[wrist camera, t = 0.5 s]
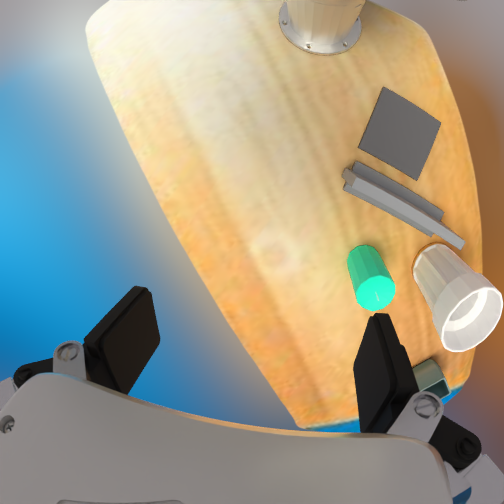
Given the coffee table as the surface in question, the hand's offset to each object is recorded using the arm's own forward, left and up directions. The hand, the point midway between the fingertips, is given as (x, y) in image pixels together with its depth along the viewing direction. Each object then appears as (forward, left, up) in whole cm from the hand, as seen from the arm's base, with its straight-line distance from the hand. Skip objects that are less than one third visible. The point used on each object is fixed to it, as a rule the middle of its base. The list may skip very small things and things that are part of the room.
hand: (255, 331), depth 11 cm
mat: (-15, +13, -34) cm, 39 cm away
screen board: (-5, +17, -34) cm, 38 cm away
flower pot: (+25, +48, -34) cm, 64 cm away
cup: (+2, +30, -34) cm, 46 cm away
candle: (+7, +17, -34) cm, 39 cm away
